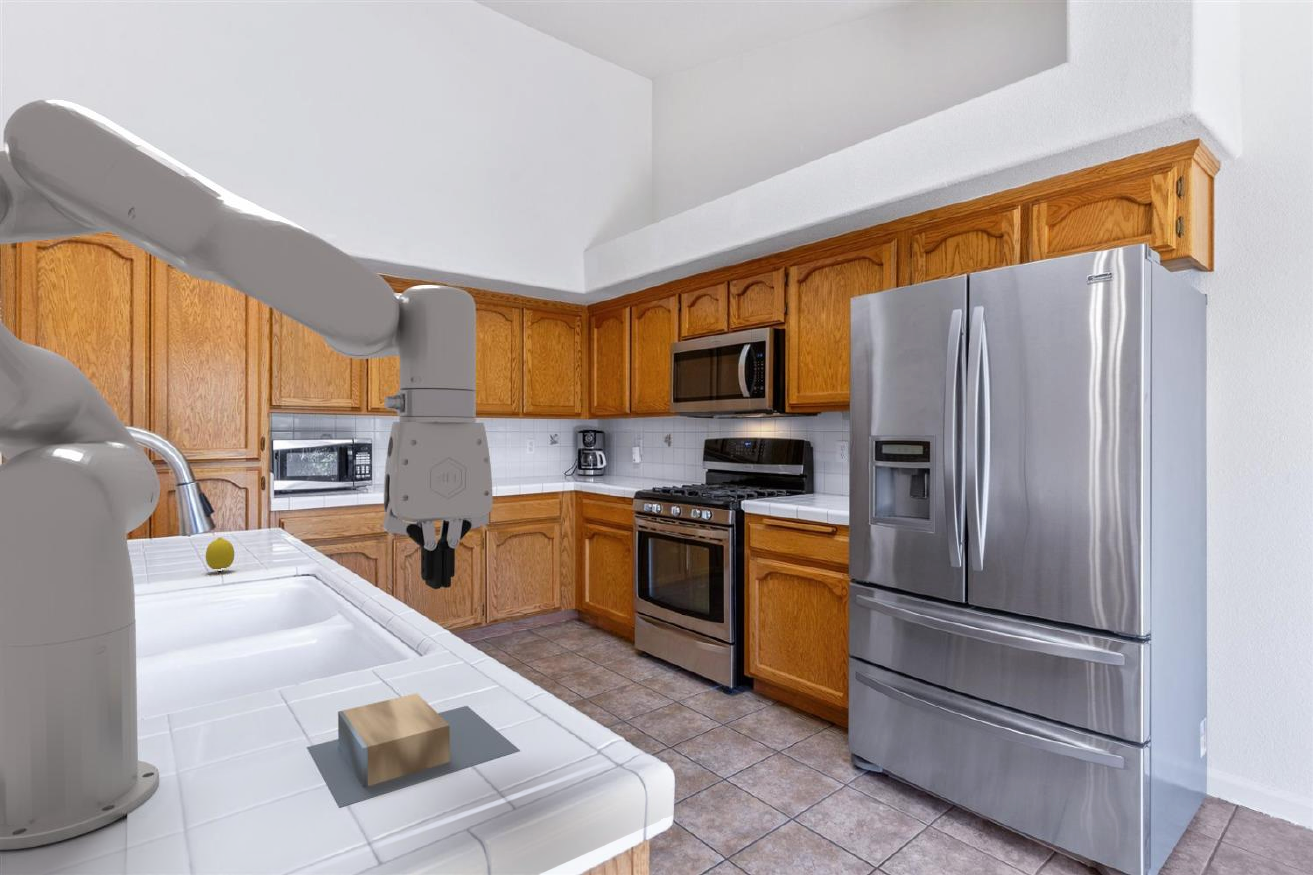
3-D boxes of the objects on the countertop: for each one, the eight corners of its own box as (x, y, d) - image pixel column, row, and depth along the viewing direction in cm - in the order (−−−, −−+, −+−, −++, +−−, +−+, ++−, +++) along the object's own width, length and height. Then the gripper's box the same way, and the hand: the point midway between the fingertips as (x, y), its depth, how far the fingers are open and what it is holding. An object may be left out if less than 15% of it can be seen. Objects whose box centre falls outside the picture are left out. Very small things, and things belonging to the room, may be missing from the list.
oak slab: (449, 761, 67) (363, 787, 62) (417, 725, 75) (338, 746, 70) (449, 725, 67) (362, 748, 62) (417, 693, 75) (338, 711, 70)
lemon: (228, 569, 160) (227, 534, 160) (239, 572, 157) (238, 537, 157) (201, 573, 156) (201, 538, 155) (212, 576, 152) (211, 540, 152)
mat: (339, 811, 59) (339, 807, 59) (306, 750, 70) (306, 746, 70) (520, 754, 69) (520, 750, 69) (467, 708, 80) (467, 705, 80)
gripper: (372, 406, 63) (372, 604, 64) (520, 409, 72) (520, 583, 73) (351, 407, 69) (352, 588, 70) (491, 410, 78) (490, 571, 79)
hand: (437, 585), depth 71 cm, fingers closed
